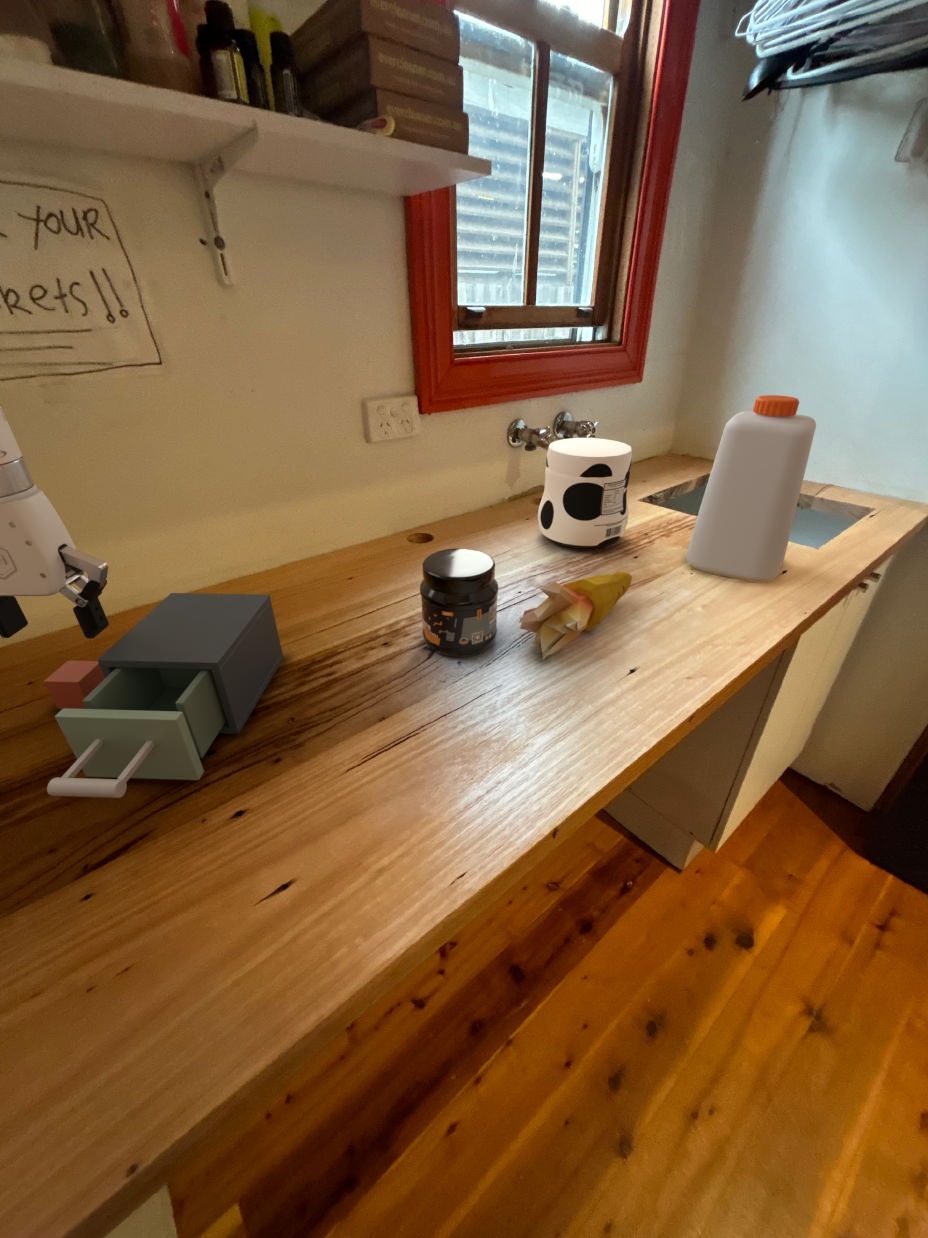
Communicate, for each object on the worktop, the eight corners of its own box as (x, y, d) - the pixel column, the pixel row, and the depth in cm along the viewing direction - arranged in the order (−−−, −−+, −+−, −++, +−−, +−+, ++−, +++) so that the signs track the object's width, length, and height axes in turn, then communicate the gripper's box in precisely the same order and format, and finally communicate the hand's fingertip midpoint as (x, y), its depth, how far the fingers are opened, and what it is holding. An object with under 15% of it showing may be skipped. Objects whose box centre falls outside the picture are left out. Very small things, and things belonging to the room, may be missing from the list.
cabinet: (238, 734, 60) (217, 662, 55) (128, 731, 60) (96, 660, 55) (283, 658, 72) (269, 594, 67) (191, 656, 73) (171, 592, 68)
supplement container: (416, 625, 79) (412, 550, 73) (485, 615, 82) (485, 542, 75) (431, 665, 71) (426, 584, 64) (506, 653, 73) (509, 574, 67)
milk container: (546, 519, 117) (552, 434, 108) (628, 528, 112) (641, 439, 103) (527, 549, 103) (532, 454, 94) (619, 561, 98) (634, 462, 89)
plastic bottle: (678, 568, 95) (715, 400, 81) (699, 540, 106) (734, 388, 92) (773, 589, 88) (831, 409, 74) (784, 557, 99) (837, 394, 84)
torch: (623, 618, 88) (536, 670, 70) (589, 584, 90) (497, 626, 73) (655, 584, 82) (570, 631, 65) (619, 549, 85) (527, 585, 67)
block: (57, 709, 64) (43, 681, 62) (80, 687, 67) (67, 660, 65) (91, 710, 64) (78, 682, 61) (113, 688, 67) (101, 660, 65)
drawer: (165, 835, 47) (136, 771, 43) (40, 830, 48) (-1, 767, 44) (252, 693, 64) (237, 638, 60) (159, 691, 65) (138, 636, 61)
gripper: (-140, 494, 49) (-44, 650, 58) (40, 493, 48) (110, 651, 57) (-66, 472, 55) (10, 614, 64) (94, 470, 54) (149, 615, 63)
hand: (57, 631), depth 60 cm, fingers open, 9 cm apart
